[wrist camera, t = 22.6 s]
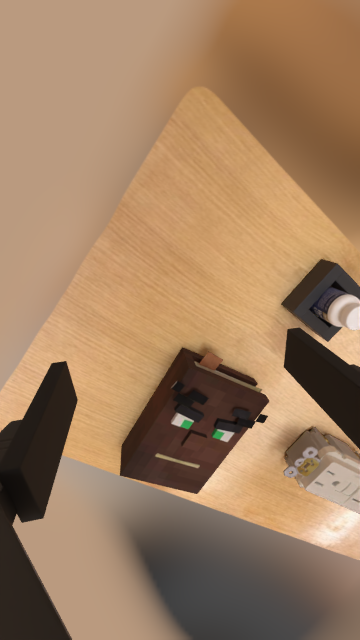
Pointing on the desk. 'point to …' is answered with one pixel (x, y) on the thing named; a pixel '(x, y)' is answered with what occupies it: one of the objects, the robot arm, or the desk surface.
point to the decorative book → (191, 423)
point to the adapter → (319, 295)
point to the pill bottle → (338, 308)
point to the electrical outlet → (326, 468)
